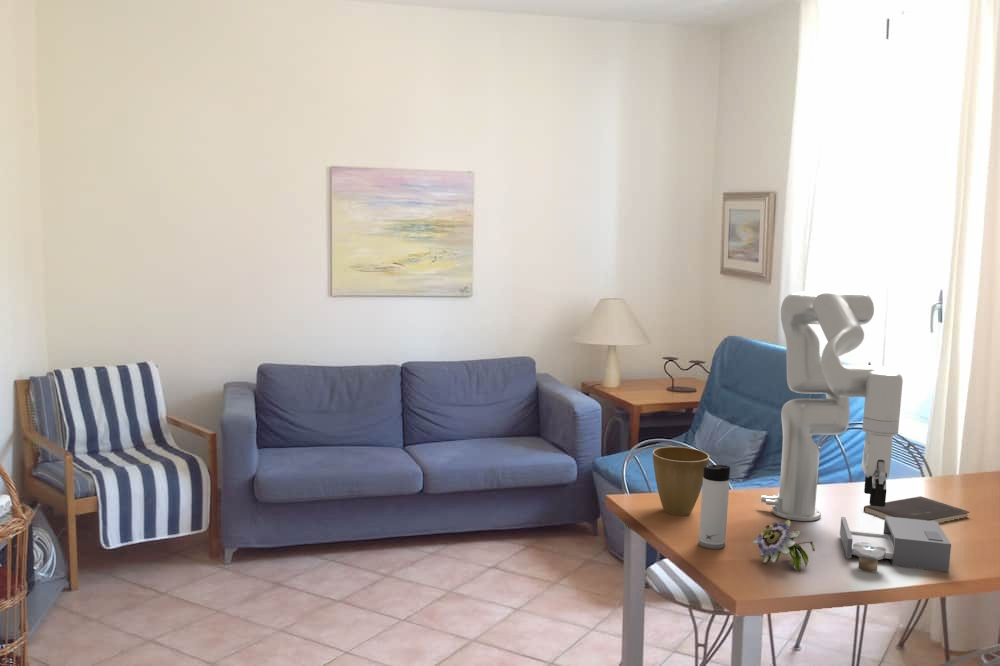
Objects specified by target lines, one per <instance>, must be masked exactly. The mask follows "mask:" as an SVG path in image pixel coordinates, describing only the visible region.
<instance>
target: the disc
mask: <svg viewBox="0 0 1000 666" xmlns="http://www.w3.org/2000/svg"><path fill="white" fill-rule="evenodd" d="M854 554H855V555H854ZM852 555H854V556H856V557H858V558H859V557H861V558H865V559H871V560H878V561H879V560H883V559H886V558H885V555H886V549H885V548H884V547H882V546H880V545H877V544H873V543H867V542H858V543H855V544H853V554H852Z"/></svg>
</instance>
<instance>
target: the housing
mask: <svg viewBox="0 0 1000 666" xmlns="http://www.w3.org/2000/svg"><path fill="white" fill-rule="evenodd" d="M882 534H888V535H892V536H893V538H894V549H893V559H889V560H890V563H891V565H892V566H893V567H895V566H896V567H903V568H913V569H921V570H929V571H937V572H938V571H939V572H946V573H947V572H948V573H949V570H950V569H949V568H950V560H951V559H950V558H951V551H952V543H951V542H950V540H949V538H948V537H947V535H946V534H945V532H944V531H943V529H942V527H941V525H940V523H938V522H937V521H927V520H918V519H908V518H898V517H889V516H885V518H884V525H883V533H882Z"/></svg>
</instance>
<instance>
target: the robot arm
mask: <svg viewBox="0 0 1000 666" xmlns="http://www.w3.org/2000/svg"><path fill="white" fill-rule="evenodd" d="M784 297H785V298H784V299H783V301H782V302H781V307H780V320H781V326H782V329H783V333H784V337H785V344H786V351H785V352H786V353H785V354H786V382H787V387H788V389H789V390H790V391H791V392H793V393H797V394H809V395H810V394H811V395H812V394H813V395H814V394H815V395H817V394H818V395H819V394H820V395H821V394H822V395H823V394H825V398H794V399H790V400H788V401H787V402H785V403H784V404H783V405H782V408H781V411H780V413H781V414H780V418H781V427H782V448H781V451H782V452H781V463H780V478H779V491H778V492H777V494H776V495H773V496H768V495H762V494H761V496H760V497H761V498H760V502H761V503H764V504H765V505H766V506H767V505H768V506H772V507H771V512H772V513H773V514H774V515H776V516H777V517H779V518H782V519H786V520H790V521H797V522H798V521H799V522H800V521H801V522H812V521H817V520H819V519H821V516H822V515H821V511H820V510H819V509H817V508H816V504H817V503H816V501H817V491H818V490H817V488H818V476H819V475H818V474H819V466H820V465H819V464H820V449H819V447H818V446H817V444H816V442H815V440H814V439H813V437H812V436H817V435H818V436H819V435H820V436H824V435H825V436H826V435H827V436H828V435H829V436H835V435H841V434H844V433H845V432H846V431H847V430H848V428H849V424H850V415H851V414H850V398H864V408H863V416H862V418H863V419H862V429H861V430H862V432H864V433H865V437H864V443H863V452H862V461H861V469H862V472H863V474H864V475H865V477H864V478H865V479H864V487H863V489H864V490H863V493H864V494H866V495H869V505H871V506H880V507H884V506H885V502H887V501H886V499H887V479H888V478H890V472H891V462H892V451H893V450H892V449H893V437H895V436H897V435H899V426H900V414H901V404H902V393H903V392H902V391H903V376H902V375H901V374H900V373H898V372H895V371H891V370H890V369H889V368H887V367H886V366H883V365H876V364H875V365H874V364H873V365H872V364H871V365H869V364H867V365H866V364H845V363H844V361H842V360H841V359H840V358H839V357H841V356H843V355H845V354H848V353H850V352H852V351H854V350H856V349H857V348H858V347H859V346H860V345H861V344H862V343H863V341H864V339H865V332H864V329H863V327H862V326H861V325H866V324H868V323H869V322H871V320H872V318H873V316H874V312H875V307H874V303H873V300H872V298H871V296H869V294H868V293H866V292H865V291H862V290H842V289H841V290H839V289H831V290H825V291H822V292H821V291H819V292H818V291H799V292H797V291H796V292H793V293H790V294H788V295H787V296H784ZM810 325H820V327H821V329H822V332H823V334H824V336H825V339H826V340H827V343H826V344H825V346H824V348H823V350H822V354H821V353H820V352H821V350H820V347H821V344H820V343H821V342H820V339H819V337H818V336H817V334H816V332H815V331H814V329H813V328H812V327H811V326H810Z"/></svg>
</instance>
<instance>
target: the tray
mask: <svg viewBox="0 0 1000 666" xmlns="http://www.w3.org/2000/svg"><path fill="white" fill-rule="evenodd" d="M840 518H841V520H840V529H839V537H840V540H841V543H842V547H843V550H844V554H845V557H846V558H847V559H851V558H852V555H853V556H856V555H855V554H853V544H855V543H858V542H867V543H873V544H877V545H880V546H882V547H884V548H885V549H886V555H885V558H884V559H889V560H890V559H893V549H894V538H893V536H892V535H888V534H883V533H877V532H871V531H870V532H868V531H859V530H850V526H849V523H848V521H847V518H846V517H845V516H841V517H840Z"/></svg>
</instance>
